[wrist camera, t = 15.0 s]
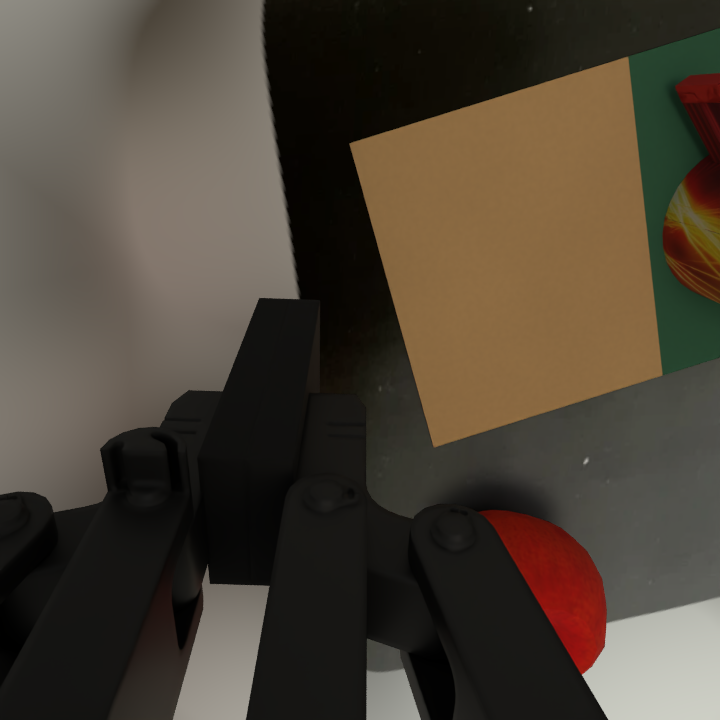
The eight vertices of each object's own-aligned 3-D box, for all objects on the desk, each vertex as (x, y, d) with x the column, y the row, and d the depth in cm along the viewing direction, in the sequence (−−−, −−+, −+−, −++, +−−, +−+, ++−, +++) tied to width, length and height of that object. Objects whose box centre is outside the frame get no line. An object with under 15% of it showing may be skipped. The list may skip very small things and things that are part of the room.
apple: (561, 467, 45) (657, 588, 33) (544, 582, 48) (626, 726, 37) (421, 474, 44) (471, 603, 32) (414, 591, 47) (457, 743, 36)
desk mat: (349, 143, 35) (349, 143, 35) (903, -30, 35) (905, -30, 35) (433, 446, 43) (433, 447, 43) (888, 303, 43) (890, 303, 43)
